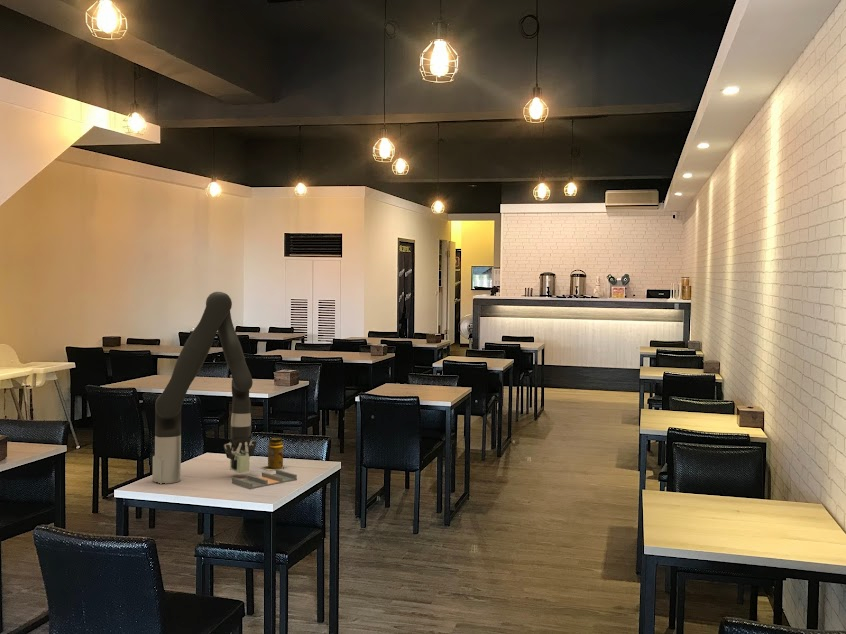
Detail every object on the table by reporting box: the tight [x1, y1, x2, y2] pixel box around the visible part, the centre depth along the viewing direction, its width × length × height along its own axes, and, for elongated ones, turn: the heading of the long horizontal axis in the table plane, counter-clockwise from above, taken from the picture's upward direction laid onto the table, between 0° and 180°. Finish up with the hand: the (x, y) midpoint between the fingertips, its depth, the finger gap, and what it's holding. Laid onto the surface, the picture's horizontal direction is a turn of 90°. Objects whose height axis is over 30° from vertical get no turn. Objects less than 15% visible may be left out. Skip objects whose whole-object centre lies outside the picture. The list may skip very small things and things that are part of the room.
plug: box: [229, 452, 251, 474], centre depth 297 cm, size 4×7×6 cm, turn 46°
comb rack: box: [231, 469, 297, 490], centre depth 290 cm, size 21×12×2 cm, turn 136°
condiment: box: [259, 437, 284, 471], centre depth 313 cm, size 7×8×12 cm
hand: (239, 468), depth 297 cm, fingers closed on plug, 4 cm apart
